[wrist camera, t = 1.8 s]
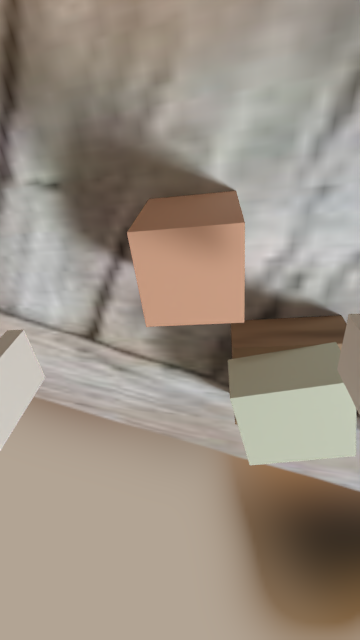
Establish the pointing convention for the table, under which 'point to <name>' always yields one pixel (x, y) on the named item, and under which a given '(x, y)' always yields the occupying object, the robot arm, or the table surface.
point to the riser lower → (284, 334)
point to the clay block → (190, 259)
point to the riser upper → (292, 405)
